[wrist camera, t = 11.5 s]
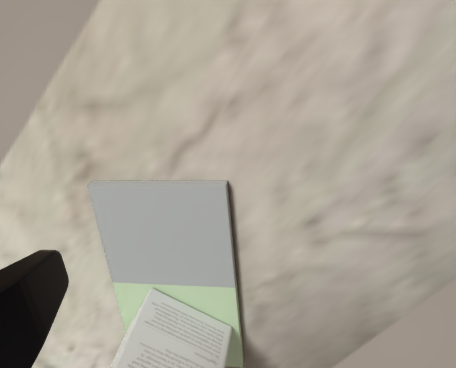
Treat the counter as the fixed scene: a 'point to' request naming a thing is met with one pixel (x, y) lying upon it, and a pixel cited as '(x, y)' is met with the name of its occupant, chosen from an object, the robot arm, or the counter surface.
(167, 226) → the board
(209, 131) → the counter surface
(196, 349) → the skincare box
